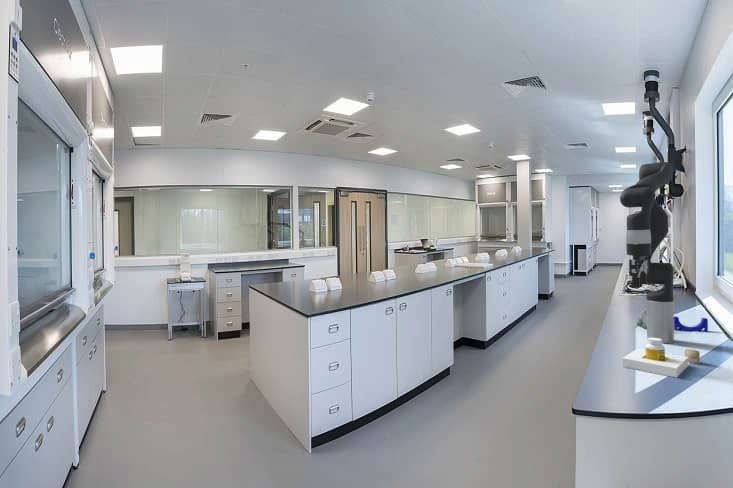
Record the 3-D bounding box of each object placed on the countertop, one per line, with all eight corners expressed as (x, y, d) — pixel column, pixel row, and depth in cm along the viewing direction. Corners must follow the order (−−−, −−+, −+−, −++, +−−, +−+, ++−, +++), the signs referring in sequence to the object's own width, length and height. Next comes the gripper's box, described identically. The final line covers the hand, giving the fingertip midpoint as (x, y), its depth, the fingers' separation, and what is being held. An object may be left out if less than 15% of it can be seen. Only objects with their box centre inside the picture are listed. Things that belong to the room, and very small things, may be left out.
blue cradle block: (675, 330, 182) (675, 318, 182) (673, 328, 186) (673, 316, 186) (708, 333, 176) (708, 320, 176) (706, 331, 180) (705, 318, 180)
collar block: (637, 356, 146) (637, 348, 146) (688, 365, 135) (688, 357, 135) (622, 366, 136) (622, 358, 136) (676, 377, 125) (676, 368, 125)
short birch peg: (686, 359, 142) (686, 348, 142) (700, 362, 138) (700, 350, 138) (683, 362, 139) (683, 350, 139) (698, 364, 136) (697, 353, 136)
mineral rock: (659, 333, 178) (658, 311, 178) (631, 330, 186) (630, 309, 185) (665, 328, 186) (664, 307, 186) (638, 325, 194) (638, 305, 194)
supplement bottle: (649, 362, 139) (649, 336, 139) (667, 366, 135) (667, 339, 135) (643, 366, 136) (642, 338, 136) (661, 370, 132) (660, 341, 132)
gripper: (632, 241, 151) (633, 282, 152) (620, 243, 142) (621, 287, 143) (656, 240, 146) (656, 284, 146) (645, 243, 136) (646, 289, 137)
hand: (639, 285), depth 145 cm, fingers open, 8 cm apart
